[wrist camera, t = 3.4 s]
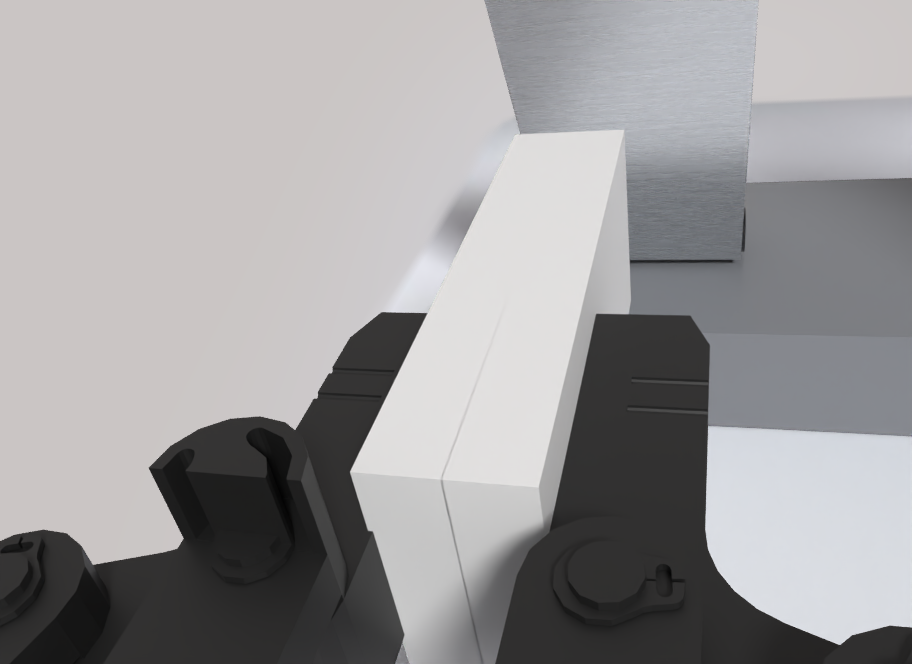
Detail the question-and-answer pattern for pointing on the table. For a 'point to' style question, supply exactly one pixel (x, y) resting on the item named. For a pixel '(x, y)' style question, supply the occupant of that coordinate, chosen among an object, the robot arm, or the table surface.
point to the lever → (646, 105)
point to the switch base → (803, 308)
